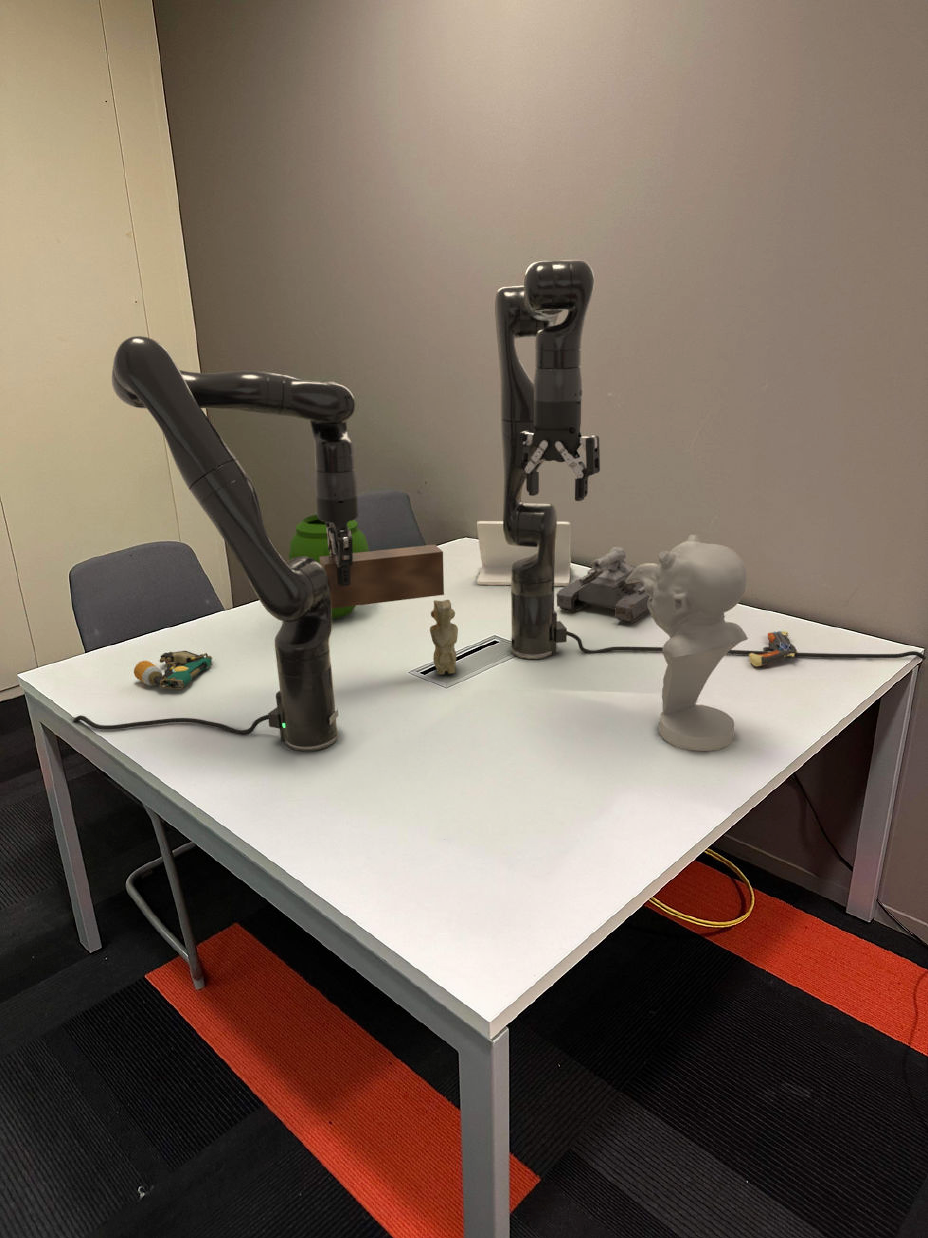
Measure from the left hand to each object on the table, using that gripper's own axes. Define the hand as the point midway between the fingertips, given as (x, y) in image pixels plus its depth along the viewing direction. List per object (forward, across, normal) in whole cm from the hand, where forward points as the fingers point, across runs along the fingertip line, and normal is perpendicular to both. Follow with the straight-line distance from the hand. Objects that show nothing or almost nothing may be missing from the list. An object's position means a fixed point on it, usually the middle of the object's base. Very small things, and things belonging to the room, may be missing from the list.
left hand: (341, 580), depth 164 cm
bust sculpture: (+22, +38, +52) cm, 68 cm away
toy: (+22, -24, +73) cm, 80 cm away
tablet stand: (+23, -55, +62) cm, 86 cm away
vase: (+24, -45, +6) cm, 51 cm away
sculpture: (+23, -2, +21) cm, 31 cm away
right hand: (-20, +28, +32) cm, 47 cm away
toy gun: (+21, +16, +89) cm, 93 cm away
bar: (+4, 0, +8) cm, 9 cm away
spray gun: (+24, -21, -32) cm, 45 cm away
